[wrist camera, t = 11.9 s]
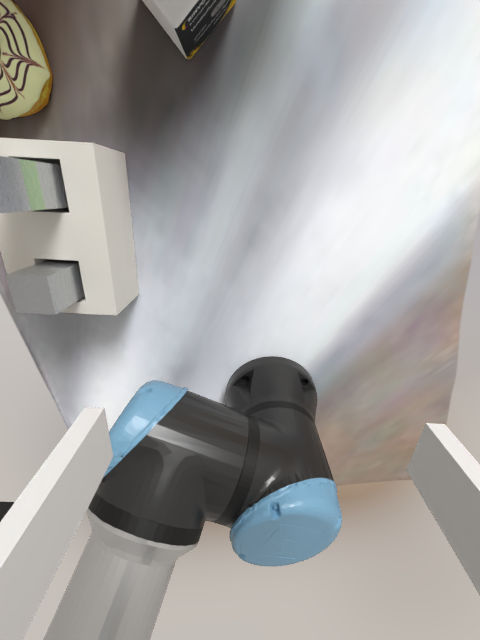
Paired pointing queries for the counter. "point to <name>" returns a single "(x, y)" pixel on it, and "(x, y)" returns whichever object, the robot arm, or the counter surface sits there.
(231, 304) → the counter surface
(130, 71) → the counter surface
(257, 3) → the counter surface
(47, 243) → the housing
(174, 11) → the medicine bottle
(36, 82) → the decorated donut
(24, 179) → the upper square grey bar
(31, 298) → the grey square peg
